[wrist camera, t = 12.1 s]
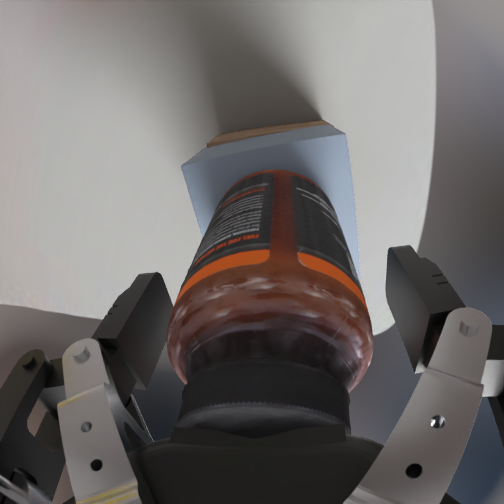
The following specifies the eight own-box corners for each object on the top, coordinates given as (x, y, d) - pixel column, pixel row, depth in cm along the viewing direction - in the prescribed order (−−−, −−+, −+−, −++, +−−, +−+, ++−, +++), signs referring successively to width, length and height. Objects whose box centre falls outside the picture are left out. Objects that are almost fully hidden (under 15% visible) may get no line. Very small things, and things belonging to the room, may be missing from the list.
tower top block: (203, 148, 19) (181, 166, 15) (329, 124, 18) (345, 134, 13) (233, 257, 23) (222, 298, 18) (345, 239, 21) (360, 278, 17)
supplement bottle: (197, 239, 16) (109, 438, 7) (253, 141, 14) (177, 316, 4) (293, 289, 18) (290, 493, 8) (359, 207, 15) (447, 419, 5)
